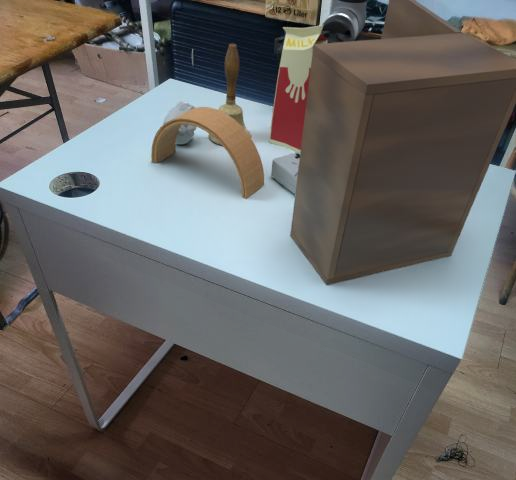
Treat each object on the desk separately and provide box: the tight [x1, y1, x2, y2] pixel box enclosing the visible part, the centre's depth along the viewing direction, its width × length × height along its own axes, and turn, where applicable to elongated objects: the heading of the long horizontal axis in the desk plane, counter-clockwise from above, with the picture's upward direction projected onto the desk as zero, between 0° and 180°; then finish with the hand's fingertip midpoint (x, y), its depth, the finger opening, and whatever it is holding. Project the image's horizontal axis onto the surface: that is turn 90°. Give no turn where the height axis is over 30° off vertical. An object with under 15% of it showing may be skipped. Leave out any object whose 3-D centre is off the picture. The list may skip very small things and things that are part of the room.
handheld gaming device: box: [270, 151, 301, 195], centre depth 86 cm, size 9×15×4 cm, turn 124°
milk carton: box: [268, 24, 327, 153], centre depth 89 cm, size 9×9×20 cm
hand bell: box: [208, 43, 253, 146], centre depth 90 cm, size 8×8×16 cm
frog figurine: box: [162, 101, 198, 145], centre depth 91 cm, size 6×7×7 cm
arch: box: [150, 106, 265, 200], centre depth 83 cm, size 6×20×10 cm, turn 57°
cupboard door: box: [380, 0, 463, 39], centre depth 79 cm, size 7×21×26 cm, turn 12°
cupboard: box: [289, 32, 516, 286], centre depth 65 cm, size 12×21×26 cm, turn 112°
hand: (314, 67), depth 93 cm, fingers open, 13 cm apart
